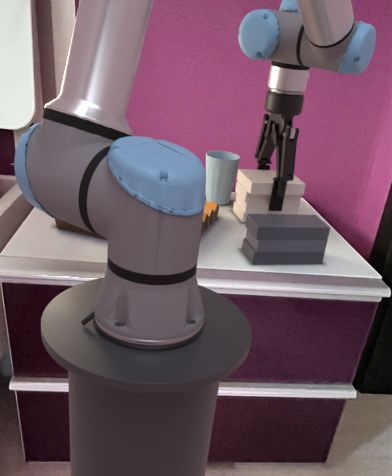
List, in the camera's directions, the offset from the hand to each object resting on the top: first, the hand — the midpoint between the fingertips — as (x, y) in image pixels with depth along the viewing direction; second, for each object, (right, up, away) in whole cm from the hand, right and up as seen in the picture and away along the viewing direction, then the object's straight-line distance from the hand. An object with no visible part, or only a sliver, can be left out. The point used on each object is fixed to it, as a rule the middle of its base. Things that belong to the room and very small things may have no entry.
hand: (266, 202), depth 122 cm
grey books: (+1, -15, -16) cm, 22 cm away
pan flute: (-26, -7, -9) cm, 29 cm away
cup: (-11, +2, +8) cm, 13 cm away
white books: (0, -3, +2) cm, 3 cm away
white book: (0, +3, -2) cm, 3 cm away
